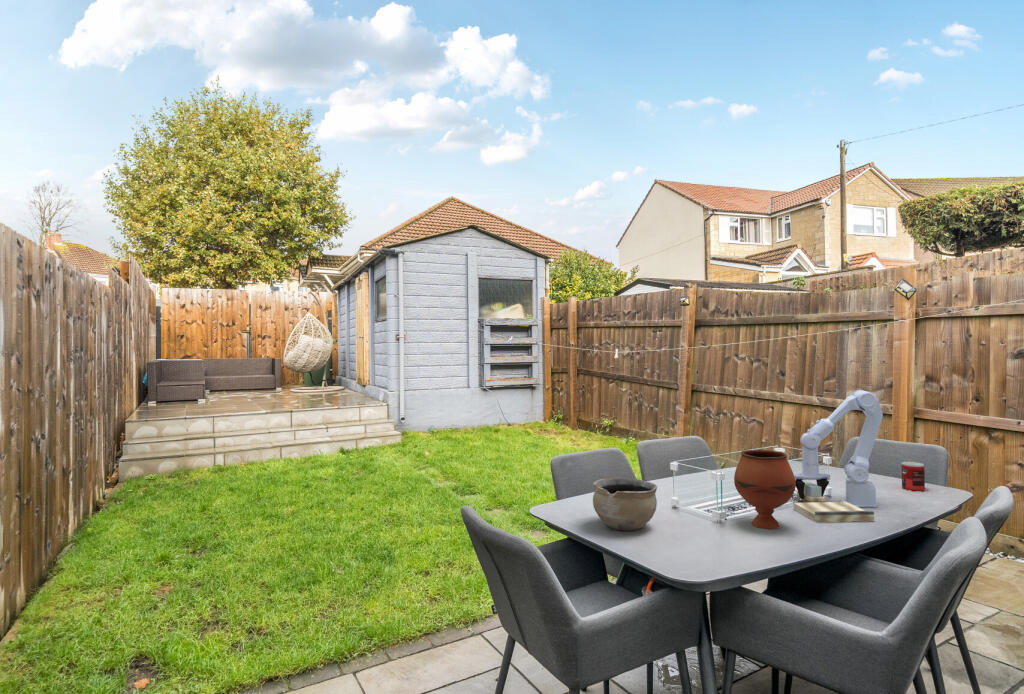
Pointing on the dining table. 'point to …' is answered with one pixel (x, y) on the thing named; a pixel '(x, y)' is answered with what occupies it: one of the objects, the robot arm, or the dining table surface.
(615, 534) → the dining table surface
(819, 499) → the pallet
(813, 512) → the dock
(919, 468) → the canned food
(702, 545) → the dining table surface
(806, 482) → the cream cube
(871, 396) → the robot arm
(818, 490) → the pale grey cube
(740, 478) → the goblet
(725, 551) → the dining table surface
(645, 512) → the ceramic bowl
